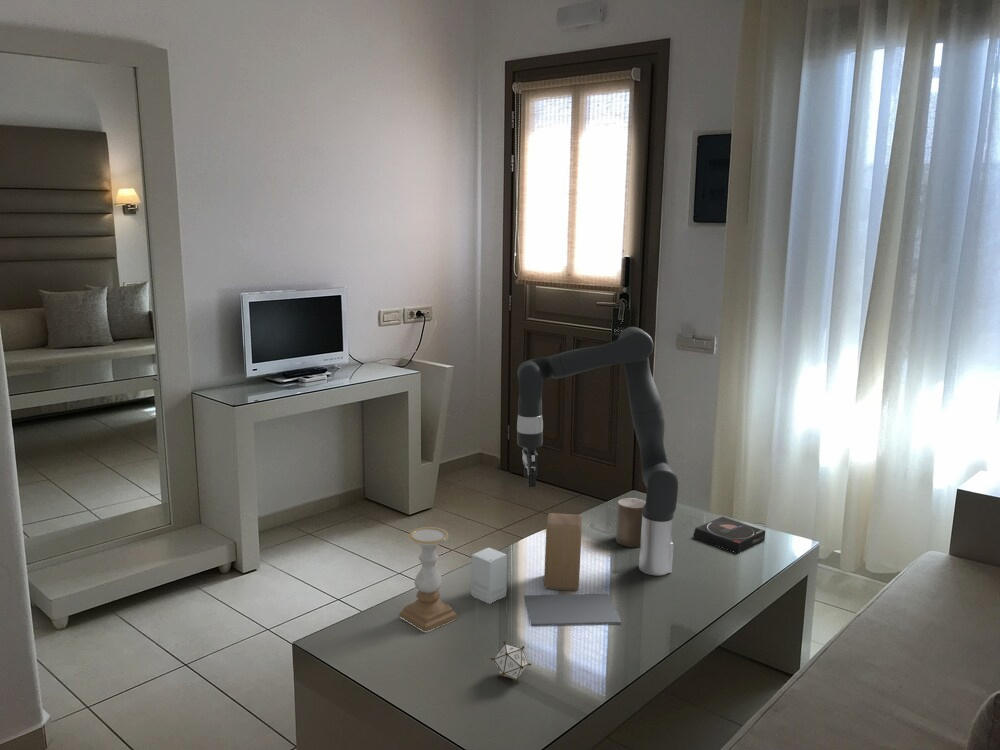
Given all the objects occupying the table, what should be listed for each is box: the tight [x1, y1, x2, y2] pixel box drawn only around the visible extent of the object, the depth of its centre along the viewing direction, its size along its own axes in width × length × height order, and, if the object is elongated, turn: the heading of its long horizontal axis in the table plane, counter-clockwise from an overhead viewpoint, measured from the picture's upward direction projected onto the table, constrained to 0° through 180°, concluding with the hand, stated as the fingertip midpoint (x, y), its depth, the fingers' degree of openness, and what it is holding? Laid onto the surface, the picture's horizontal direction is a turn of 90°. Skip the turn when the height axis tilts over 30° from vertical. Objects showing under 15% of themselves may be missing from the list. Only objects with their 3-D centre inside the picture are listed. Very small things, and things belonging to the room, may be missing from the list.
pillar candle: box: [615, 497, 646, 548], centre depth 264 cm, size 10×10×15 cm
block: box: [543, 512, 583, 592], centre depth 232 cm, size 10×10×20 cm
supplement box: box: [470, 547, 508, 605], centre depth 224 cm, size 7×7×13 cm
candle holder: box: [399, 526, 457, 631], centre depth 210 cm, size 11×11×24 cm
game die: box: [490, 640, 532, 684], centre depth 186 cm, size 9×8×10 cm
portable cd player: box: [692, 516, 766, 554], centre depth 269 cm, size 16×17×4 cm
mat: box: [523, 592, 623, 627], centre depth 219 cm, size 24×16×1 cm, turn 95°
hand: (529, 482), depth 238 cm, fingers open, 8 cm apart
